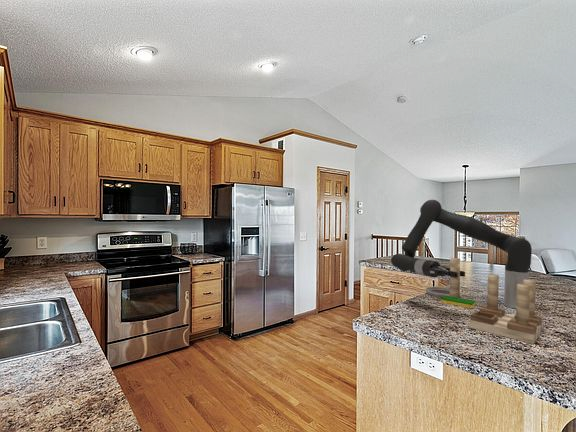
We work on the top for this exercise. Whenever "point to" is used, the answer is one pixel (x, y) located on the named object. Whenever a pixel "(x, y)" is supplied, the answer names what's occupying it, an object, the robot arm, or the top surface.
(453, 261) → the stool leg
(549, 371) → the top surface
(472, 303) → the dish sponge
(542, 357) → the top surface
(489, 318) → the stool seat
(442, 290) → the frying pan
